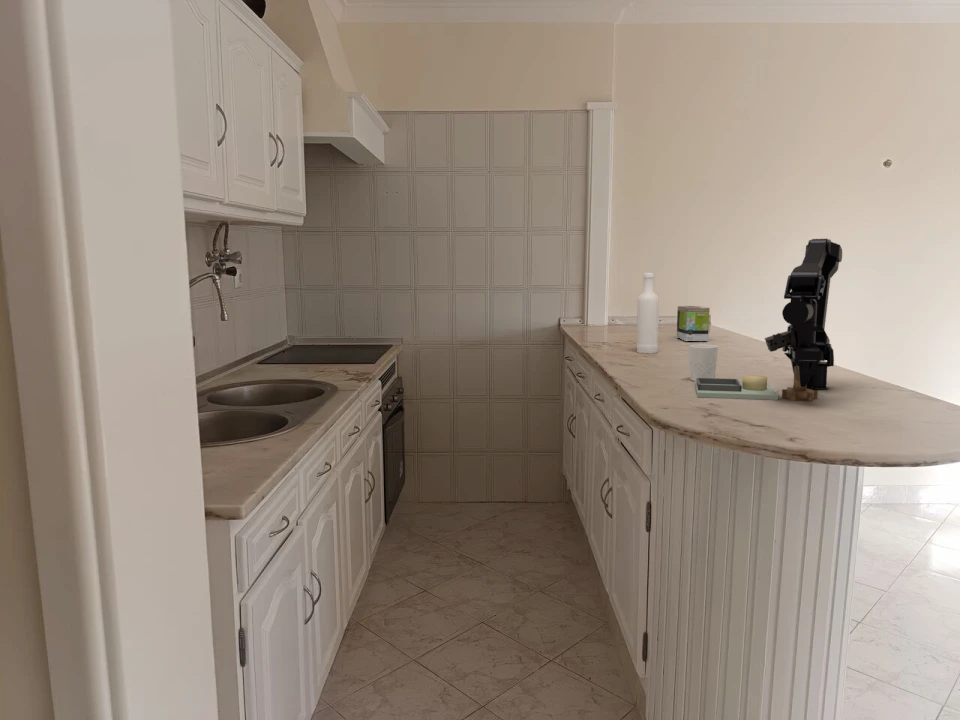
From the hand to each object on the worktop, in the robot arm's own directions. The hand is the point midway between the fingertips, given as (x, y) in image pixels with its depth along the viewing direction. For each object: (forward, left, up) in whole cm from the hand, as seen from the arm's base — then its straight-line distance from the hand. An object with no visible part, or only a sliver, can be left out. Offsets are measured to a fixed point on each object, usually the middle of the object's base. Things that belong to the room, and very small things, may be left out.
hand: (800, 384), depth 172 cm
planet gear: (0, 0, -4) cm, 4 cm away
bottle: (+39, -83, -4) cm, 92 cm away
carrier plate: (+15, -5, -4) cm, 16 cm away
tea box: (+21, -126, -4) cm, 128 cm away
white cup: (+22, -23, -4) cm, 32 cm away
